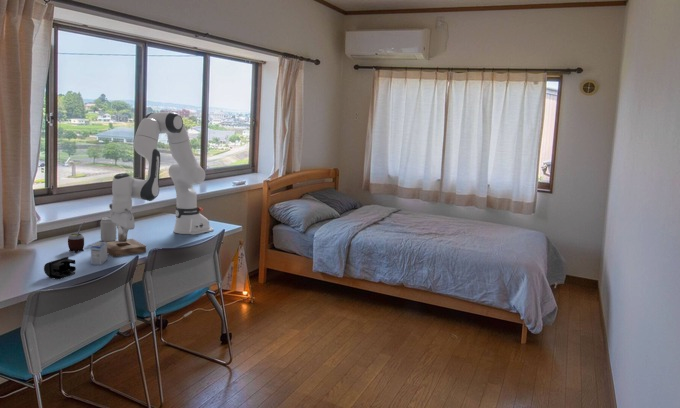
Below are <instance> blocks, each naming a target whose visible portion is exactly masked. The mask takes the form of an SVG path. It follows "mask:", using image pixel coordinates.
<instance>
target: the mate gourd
mask: <svg viewBox="0 0 680 408" xmlns="http://www.w3.org/2000/svg"><path fill="white" fill-rule="evenodd" d="M85 223H86V222H82V223H81V224H80V225H79V227H78V230H77V233H71V234H70V235H69V236H68V238H67V245H68V249H69V250H68V252H74V253H76V254H77V253H78V252H83V251H84V247H85V237H84V235H83V234H82V233H80V230H81V228H82V226H83V225H84V224H85Z"/></svg>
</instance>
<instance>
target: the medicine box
mask: <svg viewBox="0 0 680 408" xmlns="http://www.w3.org/2000/svg"><path fill="white" fill-rule="evenodd" d="M90 257H91V258H90V260H91V261H90V262H91V263H90V264H91V265H92V266H93V265H94V266H101V265H102V264H104V263H105V262H106V261H107V260H108V253H107V242H103V241H97V242H95V243H93V244H92V245H91V247H90Z"/></svg>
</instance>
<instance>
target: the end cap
mask: <svg viewBox="0 0 680 408" xmlns="http://www.w3.org/2000/svg"><path fill="white" fill-rule="evenodd" d="M72 264H73V265H72ZM74 265H76V260H75V259H71V258H70V259H69V256H64V257H62V258H58V259H55V260H51V261H49V262H47V263H45V264H44V266H43V271H44V274H45V275H46V276H47V277H49V278H50V279H52V278H55V279H54V280H58V279H59V280H62V279H65V278H68V277H70V276H72V275H75V274H76V266H74ZM64 277H65V278H64ZM61 278H62V279H61Z"/></svg>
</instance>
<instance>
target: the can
mask: <svg viewBox="0 0 680 408" xmlns="http://www.w3.org/2000/svg"><path fill="white" fill-rule="evenodd" d="M99 225H100V240H101V242H112V241H117V239H118V236H117V235H118V234H117V224H115V223H113V222H112V221H111V216H109V217H107V216H105V217H102V218H101V220H100V224H99Z"/></svg>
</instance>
